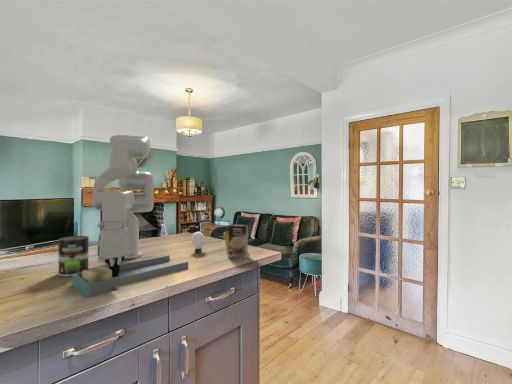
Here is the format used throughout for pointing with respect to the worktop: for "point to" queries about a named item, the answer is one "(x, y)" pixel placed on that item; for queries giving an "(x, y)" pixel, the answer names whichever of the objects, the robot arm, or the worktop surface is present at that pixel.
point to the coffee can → (73, 255)
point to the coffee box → (238, 241)
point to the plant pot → (226, 239)
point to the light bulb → (198, 241)
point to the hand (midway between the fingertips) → (114, 275)
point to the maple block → (96, 274)
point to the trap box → (128, 275)
